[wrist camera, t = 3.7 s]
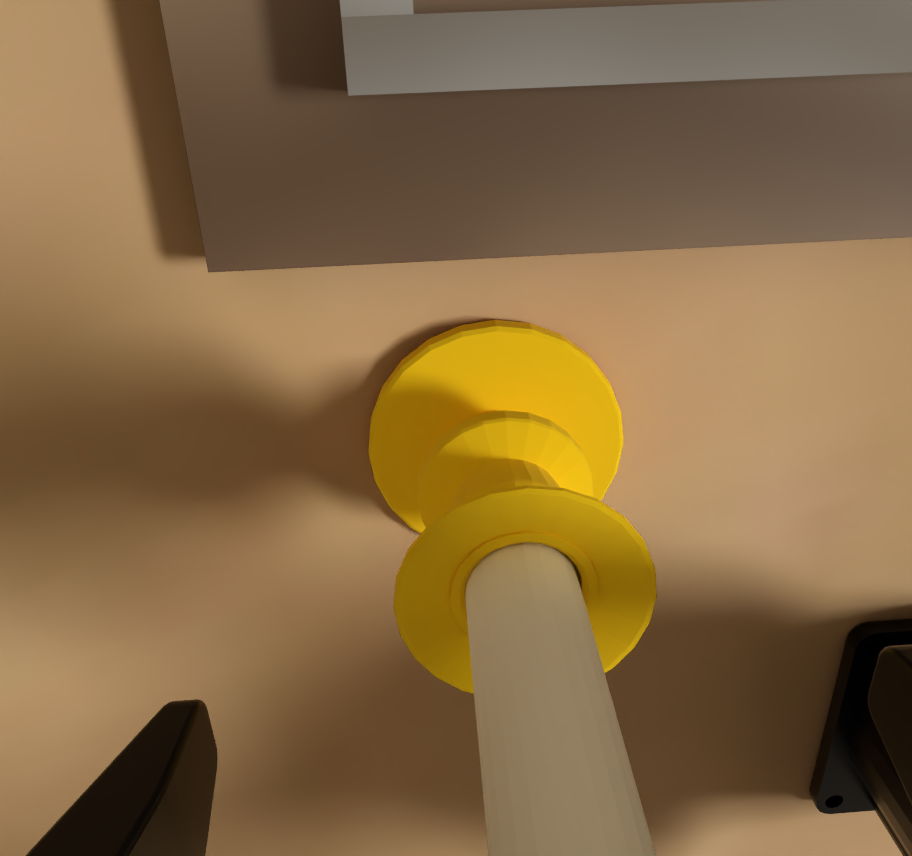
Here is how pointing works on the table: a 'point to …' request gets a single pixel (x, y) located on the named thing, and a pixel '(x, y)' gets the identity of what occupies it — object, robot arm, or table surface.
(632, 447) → the table surface
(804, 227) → the socket board
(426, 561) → the candle
